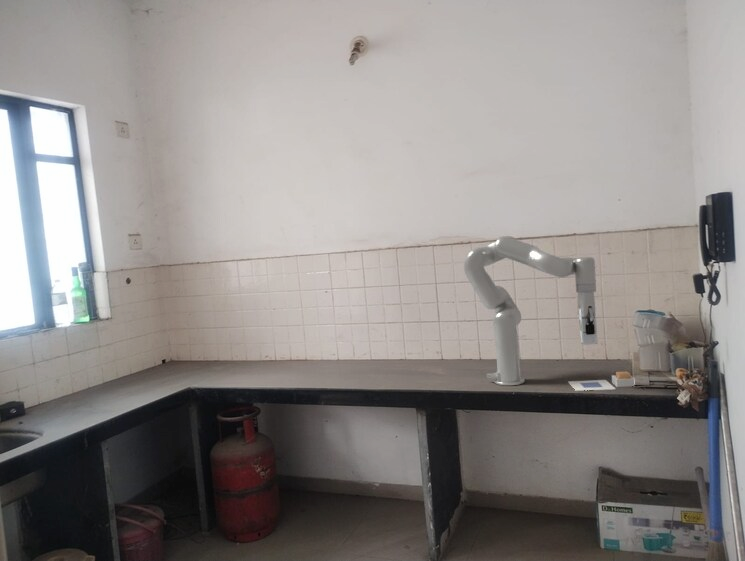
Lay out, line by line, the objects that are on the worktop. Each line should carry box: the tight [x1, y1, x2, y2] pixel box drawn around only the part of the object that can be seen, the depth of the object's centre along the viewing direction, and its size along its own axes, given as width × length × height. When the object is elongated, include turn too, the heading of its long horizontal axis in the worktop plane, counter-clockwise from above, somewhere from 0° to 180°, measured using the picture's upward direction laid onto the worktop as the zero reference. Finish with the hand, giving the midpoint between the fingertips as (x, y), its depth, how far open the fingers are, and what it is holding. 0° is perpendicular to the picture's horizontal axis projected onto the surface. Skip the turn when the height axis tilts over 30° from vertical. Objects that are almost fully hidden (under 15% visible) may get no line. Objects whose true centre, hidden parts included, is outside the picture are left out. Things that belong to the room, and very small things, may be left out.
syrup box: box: [578, 309, 599, 346], centre depth 223 cm, size 6×6×14 cm
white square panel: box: [567, 379, 617, 392], centre depth 224 cm, size 15×14×1 cm
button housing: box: [611, 374, 635, 388], centre depth 223 cm, size 7×7×3 cm
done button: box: [615, 370, 632, 379], centre depth 222 cm, size 4×4×2 cm
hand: (588, 332), depth 223 cm, fingers closed on syrup box, 5 cm apart
